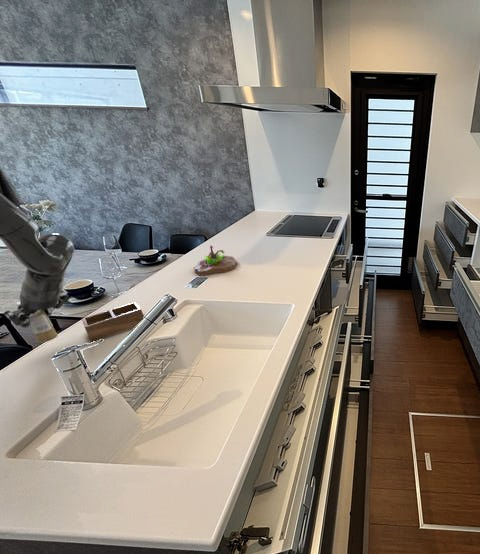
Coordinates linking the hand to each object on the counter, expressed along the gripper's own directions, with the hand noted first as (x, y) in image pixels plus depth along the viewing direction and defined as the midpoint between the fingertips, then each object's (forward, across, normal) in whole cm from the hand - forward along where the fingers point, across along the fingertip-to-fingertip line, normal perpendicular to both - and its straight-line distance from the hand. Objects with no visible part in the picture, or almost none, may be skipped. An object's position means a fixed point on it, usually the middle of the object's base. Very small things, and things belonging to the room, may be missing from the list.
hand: (34, 320), depth 91 cm
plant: (+8, -72, +8) cm, 72 cm away
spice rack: (+3, -16, +13) cm, 21 cm away
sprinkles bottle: (+3, 0, +6) cm, 7 cm away
